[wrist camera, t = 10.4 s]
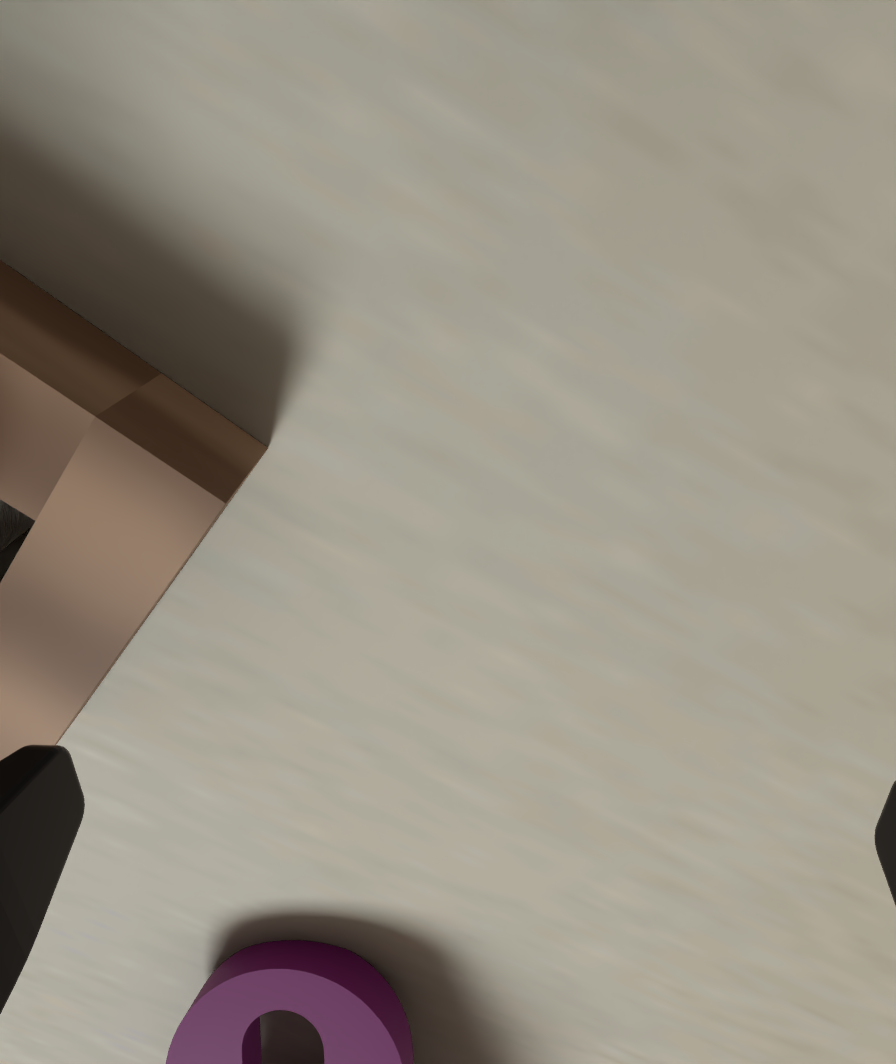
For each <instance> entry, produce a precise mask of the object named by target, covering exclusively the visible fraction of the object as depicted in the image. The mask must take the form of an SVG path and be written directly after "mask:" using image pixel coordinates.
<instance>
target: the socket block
mask: <svg viewBox="0 0 896 1064" xmlns="http://www.w3.org/2000/svg"><path fill="white" fill-rule="evenodd" d="M267 449H268V448H267V447H266V446H265V445H263V444H262V443H260V442H259V441H257V440H256V439H255V438H253V437H252V436H250V435H249V434H247V433H246V432H245V431H243V430H242V429H240V428H239V427H237V426H236V425H235V424H233V423H232V422H230V421H229V420H227V419H226V418H225V417H223V416H222V415H220V414H219V413H217V412H216V411H215V410H213V409H212V408H210V407H209V406H207V405H206V404H205V403H203V402H202V401H200V400H199V399H198V398H196V397H195V396H193V395H192V394H190V393H189V392H188V391H186V390H185V389H183V388H182V387H180V386H179V385H178V384H176V383H175V382H173V381H172V380H170V379H169V378H168V377H166V376H165V375H163V374H162V373H160V372H159V371H158V370H156V369H155V368H153V367H152V366H150V365H149V364H148V363H146V362H145V361H143V360H142V359H140V358H139V357H138V356H136V355H135V354H133V353H132V352H130V351H129V350H128V349H126V348H125V347H123V346H122V345H121V344H119V343H118V342H116V341H115V340H113V339H112V338H111V337H109V336H108V335H106V334H105V333H103V332H102V331H101V330H99V329H98V328H96V327H95V326H93V325H92V324H91V323H89V322H88V321H86V320H85V319H83V318H82V317H81V316H79V315H78V314H76V313H75V312H73V311H72V310H71V309H69V308H68V307H66V306H65V305H63V304H62V303H61V302H59V301H58V300H56V299H55V298H54V297H52V296H51V295H49V294H48V293H46V292H45V291H44V290H42V289H41V288H39V287H38V286H36V285H35V284H34V283H32V282H31V281H29V280H28V279H26V278H25V277H24V276H22V275H21V274H19V273H18V272H16V271H15V270H14V269H12V268H11V267H9V266H8V265H6V264H5V263H4V262H2V261H1V260H0V500H2V501H4V502H5V503H7V504H9V505H10V506H12V507H14V508H15V509H17V510H18V511H20V512H22V513H23V514H25V515H27V516H28V517H30V518H32V519H33V520H35V523H34V525H33V526H32V528H31V530H30V532H29V533H28V535H27V537H26V539H25V540H24V542H23V544H22V546H21V547H20V549H19V551H18V553H17V554H16V556H15V558H14V560H13V561H12V563H11V565H10V567H9V568H8V570H7V572H6V574H5V575H4V577H3V579H2V581H1V582H0V761H1V760H2V759H4V758H5V757H7V756H9V755H10V754H12V753H13V752H15V751H17V750H18V749H20V748H22V747H24V746H27V745H56V744H57V743H58V741H59V740H60V739H61V737H62V736H63V735H64V733H65V732H66V730H67V729H68V728H69V726H70V725H71V724H72V722H73V721H74V720H75V718H76V717H77V716H78V714H79V713H80V711H81V710H82V709H83V707H84V706H85V704H86V703H87V702H88V700H89V699H90V697H91V696H92V695H93V693H94V692H95V690H96V689H97V688H98V686H99V685H100V683H101V682H102V681H103V679H104V678H105V676H106V675H107V674H108V672H109V671H110V669H111V668H112V667H113V665H114V664H115V662H116V661H117V659H118V658H119V657H120V655H121V654H122V652H123V651H124V650H125V648H126V647H127V645H128V644H129V643H130V641H131V640H132V638H133V637H134V636H135V634H136V633H137V631H138V630H139V629H140V627H141V626H142V624H143V623H144V622H145V620H146V619H147V617H148V616H149V615H150V613H151V612H152V610H153V609H154V608H155V606H156V605H157V603H158V602H159V600H160V599H161V598H162V596H163V595H164V593H165V592H166V591H167V589H168V588H169V586H170V585H171V584H172V582H173V581H174V579H175V578H176V577H177V575H178V574H179V572H180V571H181V570H182V568H183V567H184V565H185V564H186V563H187V561H188V560H189V558H190V557H191V556H192V554H193V553H194V551H195V550H196V549H197V547H198V546H199V544H200V543H201V541H202V540H203V539H204V537H205V536H206V534H207V533H208V532H209V530H210V529H211V527H212V526H213V525H214V523H215V522H216V520H217V519H218V518H219V516H220V515H221V513H222V512H223V511H224V509H225V508H226V506H227V505H228V504H229V502H230V501H231V499H232V498H233V497H234V495H235V494H236V492H237V491H238V489H239V488H240V487H241V485H242V484H243V482H244V481H245V480H246V478H247V477H248V475H249V474H250V473H251V471H252V470H253V468H254V467H255V466H256V464H257V463H258V461H259V460H260V459H261V457H262V456H263V454H264V453H265V452H266V450H267Z"/></svg>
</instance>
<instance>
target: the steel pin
mask: <svg viewBox="0 0 896 1064" xmlns="http://www.w3.org/2000/svg"><path fill="white" fill-rule="evenodd" d="M34 523H35V520H33V519H32V518H30V517H28V516H27V515H25V514H23V513H22V512H20V511H18V510H17V509H15V508H14V507H12V506H10V505H9V504H7V503H5V502H4V501H2V500H0V551H2V550H3V549H4V548H5V547H6V546H8V545H9V544H10V543H11V542H13V541H14V540H15V539H16V538H18V537H19V536H20V535H21V534H23V533H24V532H25V531H26V530H28V529H29V528H30V527H31V526H32V525H33V524H34Z"/></svg>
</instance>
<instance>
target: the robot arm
mask: <svg viewBox="0 0 896 1064" xmlns="http://www.w3.org/2000/svg"><path fill="white" fill-rule="evenodd" d="M84 806H85V804H84V795H83V792H82V789H81V786H80V783H79V780H78V777H77V774H76V771H75V767H74V764H73V761H72V758H71V755H70V753H69V751H68V750H67V749H66V748H64V747H62V746H58V745H27V746H24V747H22V748H20V749H18V750H17V751H15V752H13V753H12V754H10V755H9V756H7V757H5V758H4V759H2V760H1V761H0V1014H1V1012H2V1010H3V1008H4V1006H5V1004H6V1002H7V1000H8V998H9V996H10V994H11V992H12V990H13V988H14V986H15V984H16V982H17V980H18V977H19V975H20V973H21V971H22V969H23V967H24V965H25V963H26V961H27V958H28V956H29V954H30V951H31V949H32V947H33V944H34V942H35V939H36V937H37V935H38V932H39V930H40V927H41V924H42V922H43V919H44V917H45V914H46V912H47V909H48V906H49V904H50V901H51V899H52V896H53V894H54V891H55V888H56V886H57V883H58V881H59V878H60V876H61V873H62V870H63V868H64V865H65V863H66V860H67V858H68V855H69V852H70V850H71V847H72V845H73V842H74V840H75V837H76V834H77V832H78V829H79V827H80V824H81V821H82V818H83V814H84ZM875 845H876V850H877V854H878V857H879V860H880V863H881V865H882V868H883V871H884V874H885V877H886V880H887V883H888V885H889V888H890V891H891V894H892V897H893V900H894V902H895V905H896V781H895V782H894V784H893V785H892V788H891V790H890V793H889V795H888V798H887V800H886V803H885V805H884V808H883V810H882V813H881V815H880V818H879V820H878V823H877V826H876V829H875Z"/></svg>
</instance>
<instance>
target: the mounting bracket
mask: <svg viewBox="0 0 896 1064" xmlns="http://www.w3.org/2000/svg"><path fill="white" fill-rule="evenodd" d="M274 1010H286V1011H291V1012H295V1013H297V1014H299V1015H301V1016H303V1017H305V1018H306V1019H307V1020H308V1021H310V1022H311V1023H312V1024H313V1026H314V1027H315V1028H316V1030H317V1031H318V1033H319V1035H320V1037H321V1039H322V1043H323V1047H324V1064H413V1046H412V1037H411V1032H410V1027H409V1024H408V1021H407V1017H406V1014H405V1012H404V1010H403V1008H402V1005H401V1003H400V1001H399V1000H398V998H397V996H396V994H395V992H394V991H393V990H392V988H391V987H390V985H389V984H388V983H387V981H386V980H385V979H384V978H383V977H382V976H381V975H380V973H379V972H378V971H376V970H375V969H374V968H373V967H372V966H371V965H370V964H369V963H367V962H366V961H365V960H363V959H362V958H361V957H359V956H358V955H356V954H354V953H353V952H351V951H349V950H347V949H344V948H340V947H337V946H333V945H329V944H325V943H318V942H312V941H301V940H284V941H272V942H266V943H261V944H257V945H253V946H250V947H247V948H244V949H242V950H240V951H239V952H237V953H235V954H234V955H232V956H231V957H230V958H228V959H227V960H226V961H224V962H223V963H222V964H221V965H220V966H219V967H218V968H217V969H216V970H215V971H214V972H213V974H212V975H211V976H210V977H209V979H208V980H207V981H206V983H205V984H204V986H203V988H202V989H201V991H200V992H199V994H198V996H197V997H196V999H195V1000H194V1002H193V1004H192V1005H191V1007H190V1009H189V1010H188V1012H187V1013H186V1015H185V1017H184V1018H183V1020H182V1021H181V1023H180V1025H179V1026H178V1029H177V1031H176V1033H175V1035H174V1037H173V1039H172V1042H171V1045H170V1048H169V1051H168V1056H167V1060H166V1064H262V1062H261V1035H260V1015H262V1014H264V1013H267V1012H270V1011H274Z"/></svg>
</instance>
